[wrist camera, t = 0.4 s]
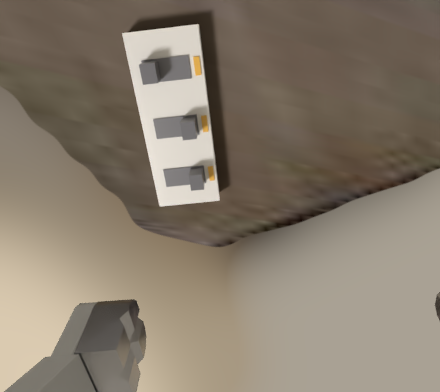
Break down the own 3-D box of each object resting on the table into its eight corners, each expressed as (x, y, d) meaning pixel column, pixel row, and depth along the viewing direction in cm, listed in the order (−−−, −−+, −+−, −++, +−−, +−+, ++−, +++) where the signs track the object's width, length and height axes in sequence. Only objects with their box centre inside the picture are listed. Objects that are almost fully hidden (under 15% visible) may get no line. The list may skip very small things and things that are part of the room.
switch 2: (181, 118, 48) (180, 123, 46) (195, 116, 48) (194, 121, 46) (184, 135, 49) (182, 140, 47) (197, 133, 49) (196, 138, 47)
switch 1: (142, 62, 45) (138, 64, 42) (157, 60, 45) (154, 62, 42) (146, 81, 46) (142, 84, 44) (160, 80, 46) (158, 83, 43)
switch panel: (127, 32, 46) (121, 33, 43) (199, 24, 46) (198, 24, 43) (162, 198, 58) (159, 207, 55) (219, 192, 58) (219, 201, 55)
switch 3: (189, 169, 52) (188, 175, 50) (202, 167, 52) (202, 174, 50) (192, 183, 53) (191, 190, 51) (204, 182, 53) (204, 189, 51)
